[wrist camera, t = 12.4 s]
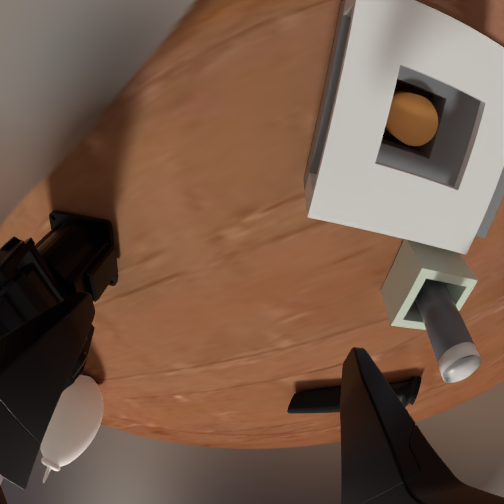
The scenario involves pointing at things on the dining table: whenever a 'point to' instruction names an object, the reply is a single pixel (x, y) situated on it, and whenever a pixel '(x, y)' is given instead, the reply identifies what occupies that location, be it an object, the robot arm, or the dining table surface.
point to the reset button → (412, 118)
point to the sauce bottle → (72, 424)
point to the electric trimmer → (331, 398)
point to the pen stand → (423, 280)
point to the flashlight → (447, 332)
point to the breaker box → (399, 156)
